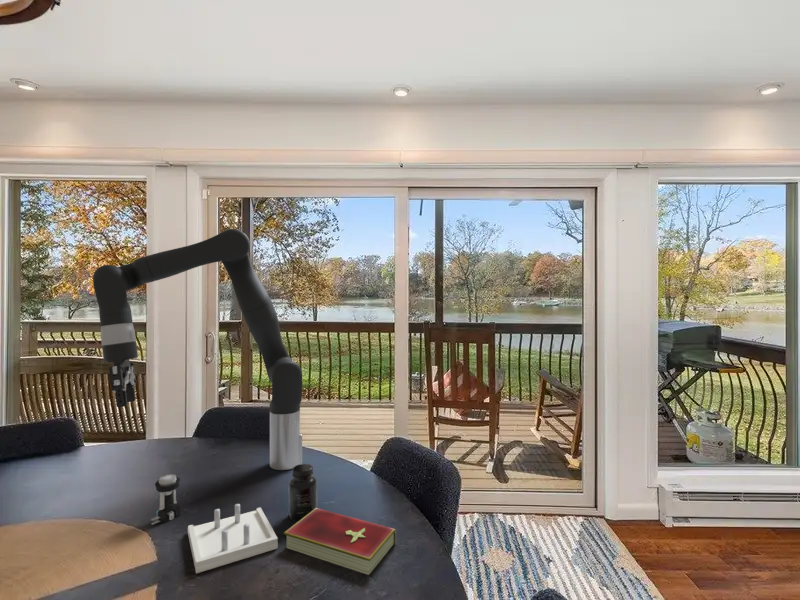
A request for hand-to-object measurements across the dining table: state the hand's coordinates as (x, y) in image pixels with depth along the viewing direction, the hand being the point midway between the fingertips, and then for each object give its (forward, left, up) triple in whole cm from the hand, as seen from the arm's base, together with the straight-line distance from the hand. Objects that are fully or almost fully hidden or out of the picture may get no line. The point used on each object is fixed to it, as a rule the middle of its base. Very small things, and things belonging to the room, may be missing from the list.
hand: (126, 404), depth 113 cm
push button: (-8, +16, -26) cm, 31 cm away
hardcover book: (-40, +47, -26) cm, 67 cm away
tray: (-20, +33, -25) cm, 46 cm away
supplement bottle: (-37, +31, -26) cm, 54 cm away
